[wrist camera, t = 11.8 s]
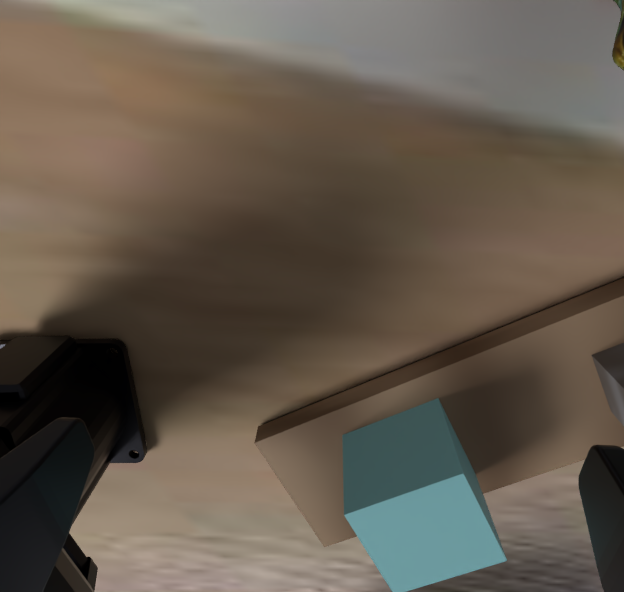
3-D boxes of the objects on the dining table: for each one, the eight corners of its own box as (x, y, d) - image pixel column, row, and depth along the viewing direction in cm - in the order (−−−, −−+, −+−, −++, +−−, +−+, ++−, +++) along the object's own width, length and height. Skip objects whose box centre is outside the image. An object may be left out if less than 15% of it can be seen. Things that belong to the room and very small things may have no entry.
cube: (384, 505, 24) (394, 594, 19) (342, 435, 22) (344, 515, 18) (475, 474, 23) (507, 560, 18) (438, 398, 21) (463, 473, 17)
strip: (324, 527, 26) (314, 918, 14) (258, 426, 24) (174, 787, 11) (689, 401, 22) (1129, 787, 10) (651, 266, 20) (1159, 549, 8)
